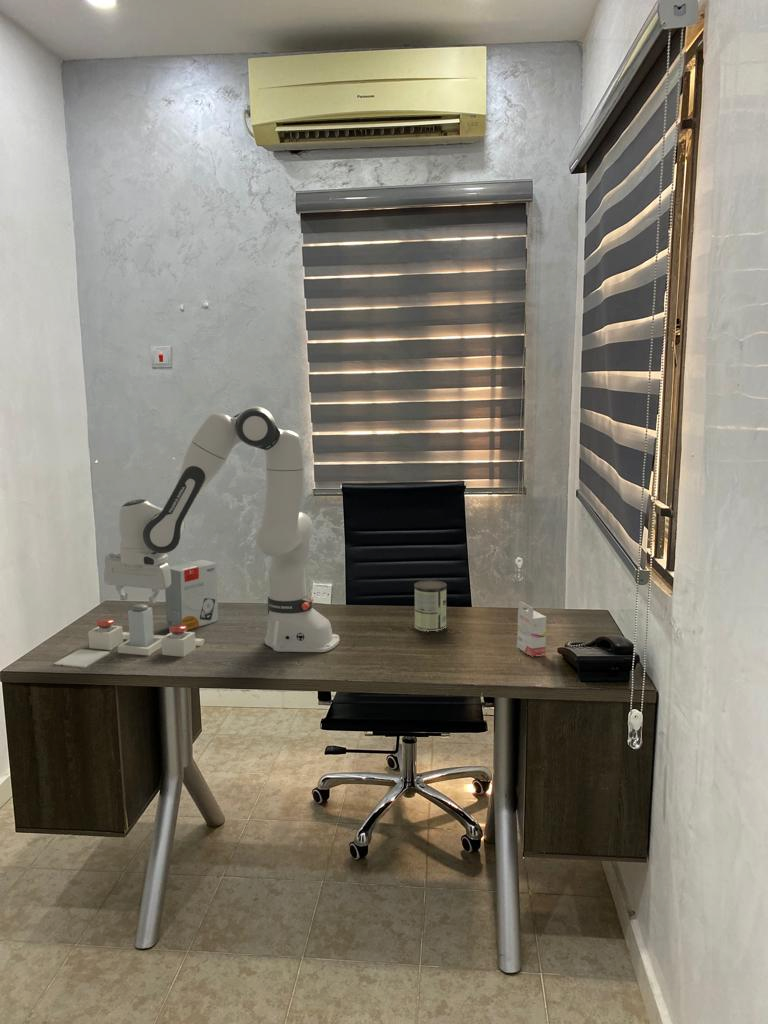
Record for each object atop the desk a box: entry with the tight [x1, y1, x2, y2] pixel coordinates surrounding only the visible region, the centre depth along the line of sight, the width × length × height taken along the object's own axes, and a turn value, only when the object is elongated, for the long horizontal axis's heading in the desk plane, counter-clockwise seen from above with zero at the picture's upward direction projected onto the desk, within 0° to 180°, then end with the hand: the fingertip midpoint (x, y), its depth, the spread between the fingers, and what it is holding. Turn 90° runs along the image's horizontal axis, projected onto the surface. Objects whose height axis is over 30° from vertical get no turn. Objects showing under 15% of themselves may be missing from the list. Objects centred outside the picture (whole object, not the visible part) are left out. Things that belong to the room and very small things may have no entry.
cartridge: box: [127, 603, 155, 647], centre depth 238 cm, size 5×5×13 cm
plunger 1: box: [95, 617, 115, 632], centre depth 241 cm, size 5×5×7 cm
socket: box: [117, 631, 205, 656], centre depth 240 cm, size 32×13×2 cm, turn 76°
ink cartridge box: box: [516, 600, 547, 656], centre depth 233 cm, size 9×5×15 cm, turn 21°
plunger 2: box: [168, 624, 188, 639], centre depth 235 cm, size 5×5×7 cm
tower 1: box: [87, 625, 124, 651], centre depth 241 cm, size 7×7×5 cm
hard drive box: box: [165, 559, 219, 631], centre depth 259 cm, size 16×8×20 cm, turn 143°
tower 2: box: [161, 631, 197, 658], centre depth 235 cm, size 7×7×5 cm
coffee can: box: [413, 579, 448, 633], centre depth 256 cm, size 10×10×14 cm
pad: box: [53, 648, 111, 669], centre depth 230 cm, size 10×12×1 cm
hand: (138, 601), depth 236 cm, fingers open, 8 cm apart
